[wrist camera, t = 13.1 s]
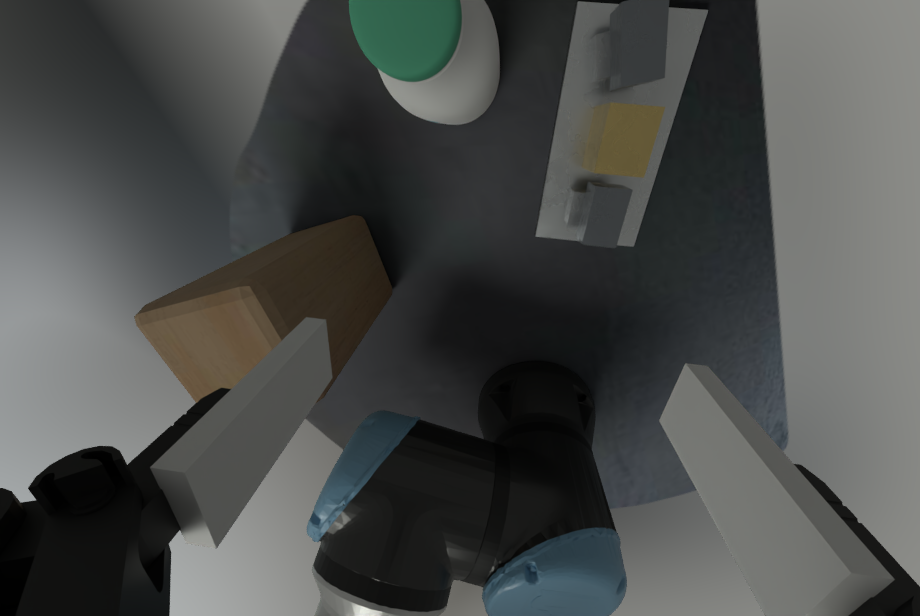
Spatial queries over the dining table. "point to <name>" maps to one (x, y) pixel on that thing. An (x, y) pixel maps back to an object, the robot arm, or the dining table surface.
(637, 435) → the dining table surface
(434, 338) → the dining table surface
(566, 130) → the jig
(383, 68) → the milk bottle
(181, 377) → the wooden block
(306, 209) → the dining table surface
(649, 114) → the gold cube-like block
